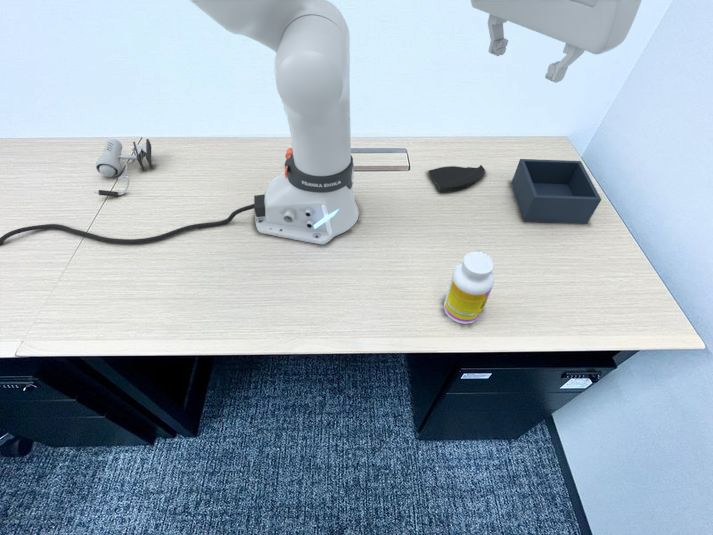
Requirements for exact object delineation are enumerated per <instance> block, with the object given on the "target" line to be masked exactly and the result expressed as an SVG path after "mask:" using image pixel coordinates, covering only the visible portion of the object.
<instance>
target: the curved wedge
mask: <svg viewBox="0 0 713 535" xmlns="http://www.w3.org/2000/svg"><path fill="white" fill-rule="evenodd" d="M485 172H486V169H485V168H484V166H483V165H482V164H480V165H479V166H478V167H470V166H467V167H463V166H456V165H455V166H454V165H452V166H441V167H437V168H433V169H429V170H428V175H429V177H430V179H431V180H432V183H434V185H435V186H436V188H437V189H438V192H439V193H441V194H445V193H452V192H453V193H454V192H458V191H461V190H464V189H467V188H469V187H471V186H473V185H475V184H476V183H477V182H478V181H480V180H481V179H482V177H483V176H484V174H485Z"/></svg>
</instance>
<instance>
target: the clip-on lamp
mask: <svg viewBox="0 0 713 535" xmlns="http://www.w3.org/2000/svg"><path fill="white" fill-rule="evenodd" d="M145 140H146V141H145V143H143V145H139V144H138V143H137V142H136V141H132V145H133V148H131V151H132V152H133V154H132V155H129V154H128V155H127V154H125V155H124V154H122V151H123V144H122V142H120V140H118V139H115V138H109V139H107V140H106V142H105V143H104V144H105V145H104V148H103V151H102V154H101V156H99V157H98V158H97V159H96V161H95V169H96V172H98V173H99V174H100V175H102V176H104V177H106V178H107V177H108V178H110V177H116V176H118V175H119V174H120V173H121V170H122V166H121V163H120V160H131V161H128V162H126V163H125V171H124V172H123V173H122V174H121V175H120V176H118V177H117V181H120V180H122V179H125V178H127V184H126V188H125V190H124V191H123V192H121V193H119V192H118V191H113V190H105V189H99V190H98V191H96V190H95V191H94V194H98V196H102V197H103V196H106V197H115V198H118V197H119V196H122V195H124V194H126V192H127V191H128V188H129V185H130V177H129V176H128V175H126V174H127V173H128V170H129V167H128V165H132V164H133V163H135V161H136V160H137V162H138V164H139V166H140V168H141V170H142V172H144V171H146V170H145V166H144V164H143V161H144V159H145V160H146V162H147V163H148V166H149V168H150V169H151V170H153V169H154V166H153V163H152V160H153V158H152V144H151V141H150V138H146V139H145Z"/></svg>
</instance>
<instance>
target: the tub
mask: <svg viewBox="0 0 713 535" xmlns="http://www.w3.org/2000/svg"><path fill="white" fill-rule="evenodd" d="M511 186H512V190H513V192H514V196H515V199H516V202H517V205H518V209H519V212H520V215H521V217H522V220H523V222H527V223H528V222H529V223H550V224H551V223H553V224H554V223H555V224H575V225H577V224H578V225H579V224H581V225H587V224H588V223H589V221H591V218H592V216H593V215H594V213H595V212H596V210H597V208H598V207H599V205H600V203H601V201H602V197H601V196H600V194H599V192H598V190H597V189H596V186H595V184H594V183H593V181H592V179H591V177H590V175H589V173H588V172H587V169H586V168H585V166H584V165H583V162H582V161H581V160H566V159H565V160H562V159H538V158H537V159H534V158H533V159H532V158H520V159H519V161H518V164H517V166H516V169H515V172H514V174H513V177H512V180H511Z"/></svg>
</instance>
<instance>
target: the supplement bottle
mask: <svg viewBox="0 0 713 535" xmlns="http://www.w3.org/2000/svg"><path fill="white" fill-rule="evenodd" d="M494 267H495V263H494V260H493V259H492V257H491V256H489V255H488V254H486V253H485V252H481V251H471V252H468V253H466V254H465V256H464V257H463V260H462V261H461V262H460V263H458V264H457V265H456V266H455V267H454V268H453V271H452V274H451V279H450V282H449V285H448V288H447V292H446V296H445V299H444V302H443V309H444V312H445V314H446V315H447V316H448V318H450V319H451V320H452V321H453V322H456V323H458V324H464V325H467V324H472V323H475V322H477V321H478V319H479V318H481V315H482V313H483V311H484V309H485V306H486V304H487V302H488V299H489V296H490V294H491V291H492V289H493V288H494V287H493V286H494V284H495V275H494V272H493V270H494Z"/></svg>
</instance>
